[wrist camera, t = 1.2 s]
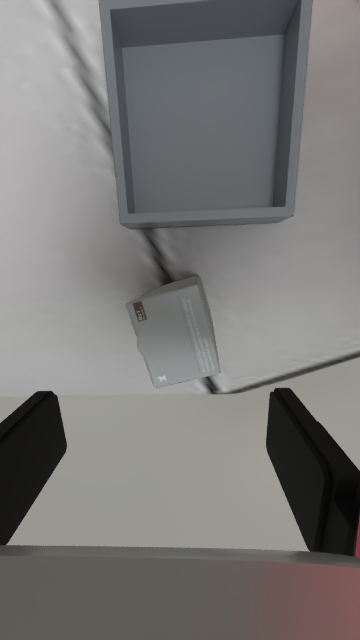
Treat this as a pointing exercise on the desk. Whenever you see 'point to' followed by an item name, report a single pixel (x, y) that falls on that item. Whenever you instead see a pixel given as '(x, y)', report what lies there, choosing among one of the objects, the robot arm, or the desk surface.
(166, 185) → the bin
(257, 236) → the desk surface
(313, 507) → the robot arm
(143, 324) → the skincare box
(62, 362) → the desk surface
